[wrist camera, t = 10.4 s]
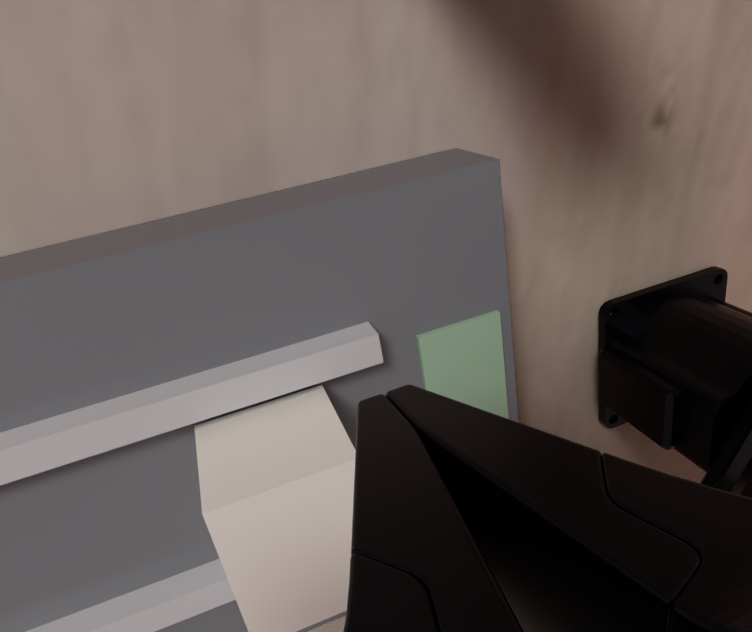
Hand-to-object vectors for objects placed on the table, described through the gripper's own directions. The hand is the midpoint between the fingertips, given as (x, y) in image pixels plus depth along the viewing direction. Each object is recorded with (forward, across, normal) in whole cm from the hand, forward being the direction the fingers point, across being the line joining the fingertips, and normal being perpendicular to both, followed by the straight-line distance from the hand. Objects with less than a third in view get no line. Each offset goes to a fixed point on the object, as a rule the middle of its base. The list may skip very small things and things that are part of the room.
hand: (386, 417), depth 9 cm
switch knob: (+9, +2, +7) cm, 11 cm away
